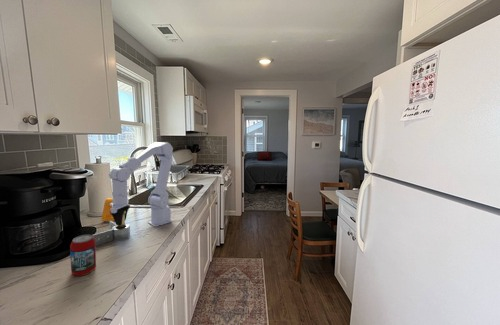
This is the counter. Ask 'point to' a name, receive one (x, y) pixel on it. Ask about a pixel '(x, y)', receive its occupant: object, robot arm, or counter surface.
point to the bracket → (107, 210)
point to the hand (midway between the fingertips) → (120, 222)
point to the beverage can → (83, 255)
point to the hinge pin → (122, 222)
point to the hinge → (112, 234)
